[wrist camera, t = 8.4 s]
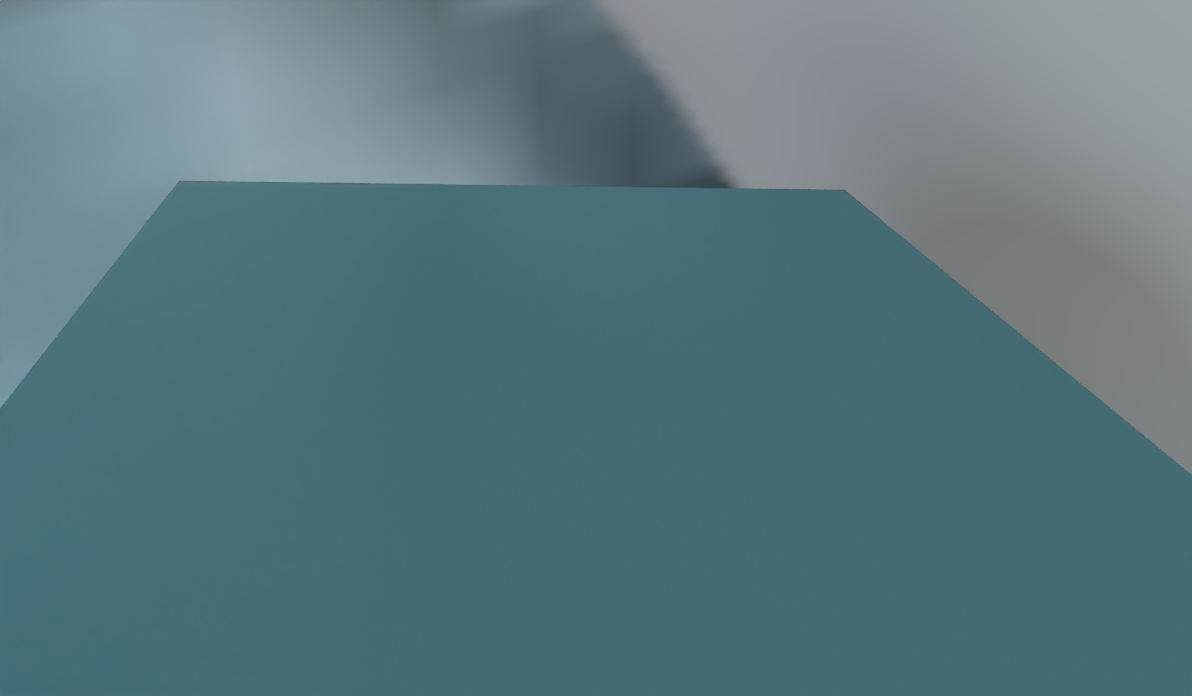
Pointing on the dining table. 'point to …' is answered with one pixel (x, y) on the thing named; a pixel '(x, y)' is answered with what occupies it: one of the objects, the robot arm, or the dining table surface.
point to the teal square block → (569, 462)
